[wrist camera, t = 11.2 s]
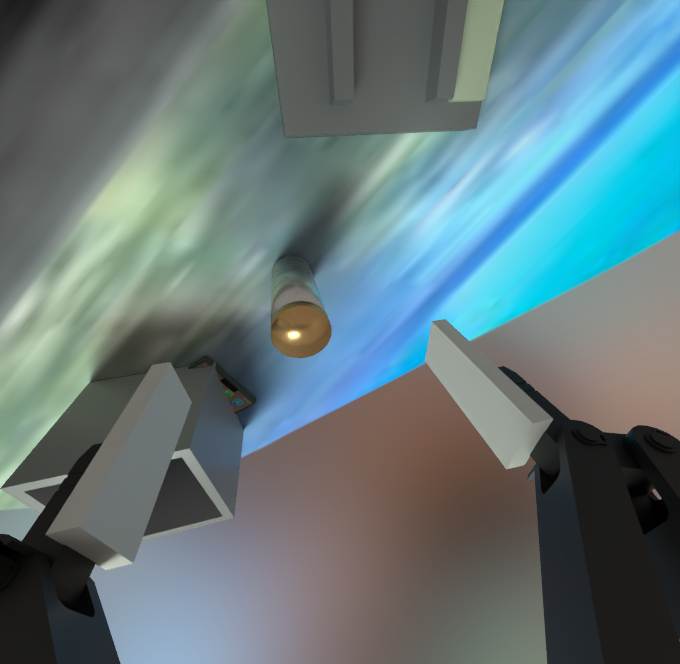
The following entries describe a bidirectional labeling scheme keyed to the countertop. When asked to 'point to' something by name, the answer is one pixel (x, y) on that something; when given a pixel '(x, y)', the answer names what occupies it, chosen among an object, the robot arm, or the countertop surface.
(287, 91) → the cradle
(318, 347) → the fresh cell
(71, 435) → the phone caddy
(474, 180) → the countertop surface
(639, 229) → the countertop surface
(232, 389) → the smartphone
